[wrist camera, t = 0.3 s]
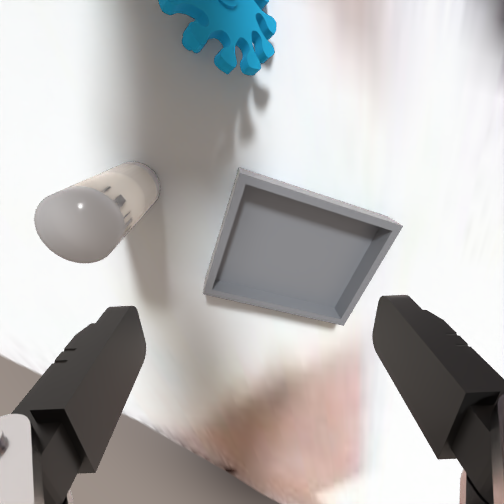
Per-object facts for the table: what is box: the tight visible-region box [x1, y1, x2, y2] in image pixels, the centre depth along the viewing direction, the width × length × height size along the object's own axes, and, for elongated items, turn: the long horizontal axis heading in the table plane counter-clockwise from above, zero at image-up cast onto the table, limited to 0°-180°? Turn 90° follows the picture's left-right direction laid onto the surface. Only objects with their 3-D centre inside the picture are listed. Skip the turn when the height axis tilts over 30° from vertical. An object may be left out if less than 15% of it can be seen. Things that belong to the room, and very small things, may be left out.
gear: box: [158, 0, 276, 75], centre depth 20 cm, size 11×6×10 cm
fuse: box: [34, 161, 160, 263], centre depth 22 cm, size 5×5×12 cm
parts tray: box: [203, 168, 403, 326], centre depth 30 cm, size 14×18×3 cm
